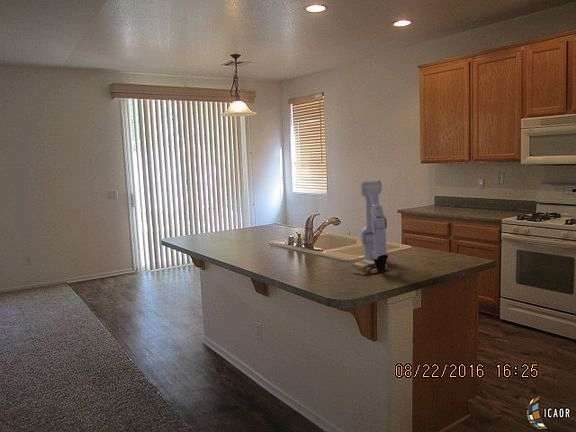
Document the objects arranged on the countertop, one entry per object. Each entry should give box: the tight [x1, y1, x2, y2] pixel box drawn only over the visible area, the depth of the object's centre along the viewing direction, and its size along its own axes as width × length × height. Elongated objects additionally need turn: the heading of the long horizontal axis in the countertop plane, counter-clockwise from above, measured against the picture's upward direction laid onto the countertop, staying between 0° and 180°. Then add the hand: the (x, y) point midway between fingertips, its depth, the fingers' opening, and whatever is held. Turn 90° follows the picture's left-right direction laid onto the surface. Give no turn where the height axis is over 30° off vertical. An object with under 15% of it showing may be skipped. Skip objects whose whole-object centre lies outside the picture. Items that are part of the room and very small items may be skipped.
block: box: [351, 260, 376, 276], centre depth 233 cm, size 12×7×4 cm, turn 131°
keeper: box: [370, 263, 388, 274], centre depth 230 cm, size 11×3×2 cm, turn 131°
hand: (380, 271), depth 227 cm, fingers open, 2 cm apart
